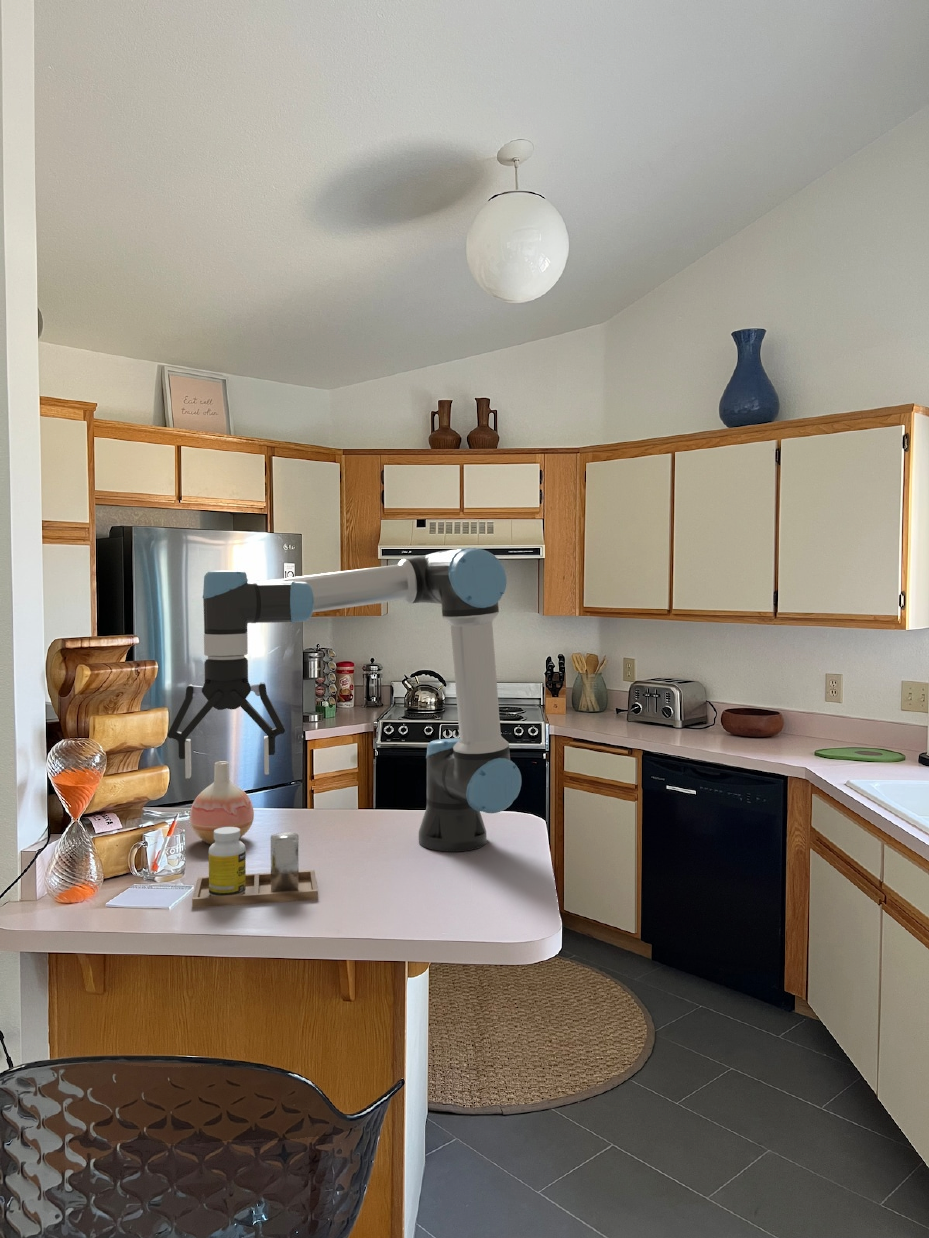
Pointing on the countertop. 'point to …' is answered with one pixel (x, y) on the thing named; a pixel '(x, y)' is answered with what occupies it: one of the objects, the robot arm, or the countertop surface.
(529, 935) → the countertop surface
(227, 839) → the pill bottle
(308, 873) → the rack
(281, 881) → the canister
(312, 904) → the countertop surface
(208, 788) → the vase
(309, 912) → the countertop surface
